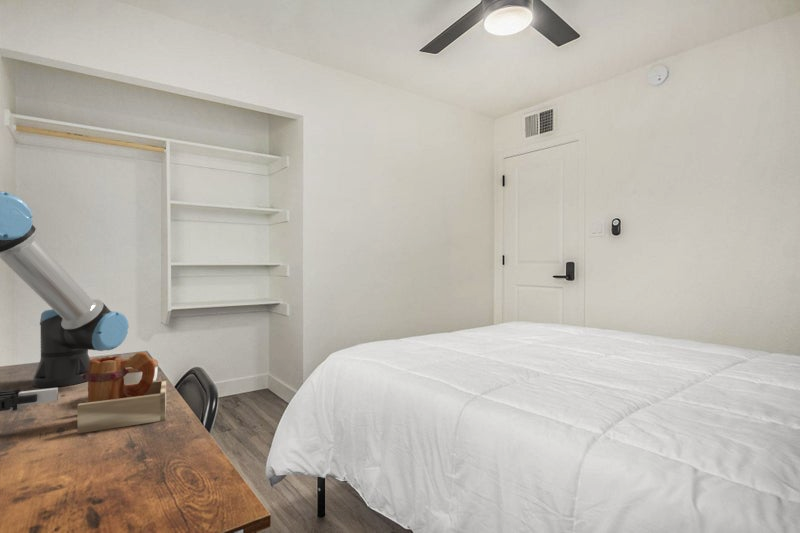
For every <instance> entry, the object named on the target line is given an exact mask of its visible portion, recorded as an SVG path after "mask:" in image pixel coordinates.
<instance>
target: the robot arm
mask: <svg viewBox="0 0 800 533" xmlns="http://www.w3.org/2000/svg"><path fill="white" fill-rule="evenodd" d="M32 218H33V213H32V211H31V209H30V207H29V205H28V204H27V203H26V202H25V201H24V200H22V198H20V197H18V196H17V195H14V194H13V193H10V192H6V191H0V260H2V262H4V264H6V265H7V266H8V267H9V268H10V269H11V270H12V271H13V272H14V273H15V274H16V275H17V276H18V277H19V278H20V279H21V280H22V281H23V282H24V283H25V284H26V285H27V286H28V287H29V288H31V290H33V291H34V292H35V294H36V295H38V296H39V298H41V299H42V301H44V302H45V303H46V304H47V305H48V306H49V307H50V308H51V309H46V310H44V311H43V312H41V314H40V321H39V325H40V359H39V362H38V365H37V367H36V370H35V373H34V375H33V377H32V378H33V379H32V385H33V387H36V388H42V389H33V390H32V389H31V390H25V391H24V390H23V391H22V389H21V387H17V388H16V389H11V390H10V389H9V390H0V412H5V411H9V410H11V408H12V412H14V411H17V410H18V407H21V406H28V405H29V406H30V405H36V404H45V403H46V404H47V403H53V402H55V403H56V402H57V401H58V400H59V387H65V386H66V387H67V386H72V385H76V384H81V383H85V382H87V381H86V379H83V378H82V377H83V375H84V374H86V373H87V372H88V371H89V361H90V360H91V358H90V356H89V351H90V350H91V351H99V352H103V351H111V350H115V349H117V348H118V347H119V346H121V345H122V343H124V341H125V340H126V338H127V336H128V334H129V332H128V331H129V328H130V327H129V321H128V319H127V317H126V316H125V314H123V313H121V312H119V311H115V310H114V311H111V310H110V308H108V306H107V305H106V304H105V303H104V302H103V301H102V300H100V299H92V298H91V297H90V296H89V294H88V292H86V291H85V290H84V289H83V288H82V287H81V286H80V285H79V284H78V283H77V281H75V279H74V278H73V276H71V275H70V274H69V273H68V271H67V270H66V269H65V268H64V267H63V266H62V265H61V264H60V263H59V262H58V261H57V259H55V258H54V256H53V255H52V254H51V253H50V252H49V251H48V250H47V249H46V248H45V247H44V246H43V244H42V243H41V242H40V241H39V240H38V239H37V238H36V233H37V227H35V225H33V224H34V223H33V220H32Z"/></svg>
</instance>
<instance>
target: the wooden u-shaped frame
mask: <svg viewBox="0 0 800 533" xmlns="http://www.w3.org/2000/svg"><path fill="white" fill-rule="evenodd" d="M138 383H139V382H138ZM138 383H130V384H125V385H130V386H134V385H137V384H138ZM125 396H127V397H128V398H120V399H113V400H105V401H97V402H89V403H88V402H82V403H78V404H77V434H83V433H90V432H95V431H96V432H97V431H103V430H109V429H117V428H122V427H128V426H135V425H141V424H142V425H143V424H150V423H156V422H161V421H165V420H166V411H167V379H158V380H157V379H156V381H153V382H152V385H151V387H150V388H149V389H148V391H147V392H146V393H145V394H144V395H143V396H136V397H133V396H131V395H129V394H126V393H125Z"/></svg>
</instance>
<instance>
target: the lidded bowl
mask: <svg viewBox="0 0 800 533" xmlns="http://www.w3.org/2000/svg"><path fill="white" fill-rule="evenodd" d="M132 356H133V355H130V356H129V357H128V358H131V357H132ZM151 359H152V360H153V362H154V365H155V375H154V379H153V381H156V380H157V378H158V372H159V371H158V366H159V361H158V359H155V358H151ZM126 369H127V370H128V371H129V372H128V373H127V374H126V375H125V376H124V384H130V383H138V382H140V380H141V378H142V371H139V370H137V369H134V368H132V367H127V368H126Z"/></svg>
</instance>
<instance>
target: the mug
mask: <svg viewBox="0 0 800 533" xmlns="http://www.w3.org/2000/svg"><path fill="white" fill-rule="evenodd" d="M131 356H132V357H131V358H129V357H128V358H123V359H122V357H120V356H118V355H117V356H112V357H110V356H106V357H101V358H99V357H98V358H92V359H90V361H89V371H88V372H87V373H86V374H84V375H83V377H82V378H83V379H86V382H88V384H87V403H89V402H97V401H105V400H113V399H120V398H128V397H127V396H125V393H126V394H129V395H131V396H133V397H136V396H143V395H144V394H145V393H146V392H147V391H148V389H149V388H150V387H151V385H152V382H153V379H154V375H155V365H154V362H153V360H152V359H153V358H152V357H151V356H149V355H148V353H146V352H144V351H139V352H136V353H135V354H134V355H131ZM127 367H132V368H134V369H137V370H139V371H142V378H141V380H140V382H139V383H138V384H137V385H134V386H130V385H125V384H124V376H125V375H126V374H127V373H128V372H129V371H128V370H127V369H126V368H127Z"/></svg>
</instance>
